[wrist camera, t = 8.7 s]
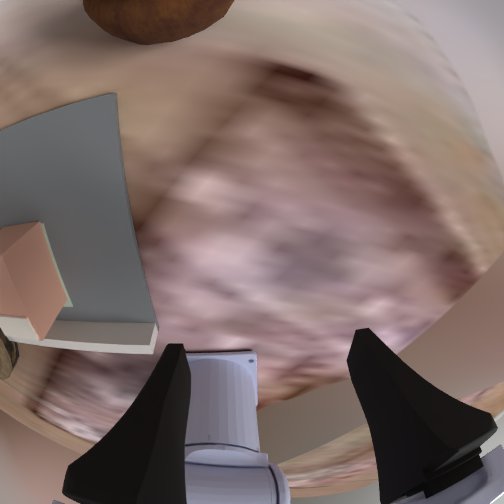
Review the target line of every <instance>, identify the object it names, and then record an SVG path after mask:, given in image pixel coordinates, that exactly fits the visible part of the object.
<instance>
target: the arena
mask: <svg viewBox="0 0 504 504" xmlns="http://www.w3.org/2000/svg"><path fill="white" fill-rule="evenodd" d="M37 221H40V222H41V226H42V229H43V233H44V236H45V239H46V242H47V245H48V248H49V251H50V254H51V257H52V260H53V263H54V266H55V268H56V271H57V274H58V276H59V279H60V282H61V284H62V287H63V289H64V292H65V294H66V296H67V301H66V303H65V304H64V306H63V307H62V309H61V311H60V312H59V314H58V316H57V317H56V319H55V321H54V322H53V324H52V326H51V328H50V329H49V331H48V333H47V335H46V336H45V338H44V340H43V341H39V340H30V339H23V338H16V337H10V336H7V338H8V339H9V341H14V342H20V343H26V344H33V345H40V346H47V347H55V348H64V349H73V350H84V351H96V352H110V353H130V354H153V352H154V347H155V343H156V339H157V334H158V330H159V325H158V322H157V319H156V315H155V312H154V308H153V305H152V301H151V298H150V294H149V290H148V286H147V282H146V278H145V274H144V270H143V266H142V262H141V258H140V253H139V249H138V244H137V240H136V235H135V230H134V225H133V220H132V215H131V209H130V204H129V198H128V192H127V186H126V179H125V172H124V165H123V158H122V150H121V141H120V132H119V121H118V109H117V94H116V93H111V94H107V95H103V96H99V97H95V98H91V99H87V100H83V101H80V102H76V103H73V104H70V105H66V106H63V107H60V108H57V109H54V110H51V111H48V112H45V113H42V114H40V115H37V116H34V117H31V118H29V119H26V120H24V121H21V122H19V123H16V124H14V125H12V126H9V127H7V128H5V129H3V130H0V230H1V229H2V228H3V227H7V226H13V225H18V224H24V223H30V222H37Z"/></svg>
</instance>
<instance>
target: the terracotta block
mask: <svg viewBox="0 0 504 504" xmlns="http://www.w3.org/2000/svg"><path fill="white" fill-rule="evenodd" d="M66 301H67V296H66V294H65V292H64V289H63V287H62V284H61V282H60V279H59V276H58V274H57V271H56V268H55V266H54V263H53V260H52V257H51V254H50V251H49V248H48V245H47V242H46V239H45V236H44V233H43V229H42V226H41V222H40V221H37V222H30V223H24V224H18V225H13V226H7V227H3V228H2V229H1V230H0V328H1V329H2V331H3V333H4V334H5V336H10V337H16V338H23V339H30V340H39V341H43V340H44V338H45V336H46V335H47V333H48V331H49V329H50V328H51V326H52V324H53V322H54V321H55V319H56V317H57V316H58V314H59V312H60V311H61V309H62V307H63V306H64V304H65V303H66Z"/></svg>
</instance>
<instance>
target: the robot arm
mask: <svg viewBox="0 0 504 504" xmlns="http://www.w3.org/2000/svg"><path fill="white" fill-rule="evenodd" d="M250 359H252V360H250ZM347 364H348V368H349V372H350V376H351V380H352V383H353V385H354V388H355V391H356V393H357V396H358V398H359V401H360V403H361V406H362V409H363V411H364V414H365V417H366V419H367V422H368V425H369V429H370V433H371V437H372V442H373V446H374V451H375V457H376V463H377V470H378V478H379V490H380V502H381V504H392V503H393V504H491V503H492V502H493V501H495V500H496V499H497V498H498V497H500V496H501V495H502V494H503V493H504V449H503V447H502V445H499V446H498V447H496V448H495V449H494V450H492V451H491V452H489V453H487V454H486V455H485V456H483V457H482V458H480V456H479V454H480V453H481V452H482V450H481V448H480V446H481V445H482V444H483V443H484V442H485V441H486V440H488V439H489V438H490V437H491V436H492V435H493V434H494V433H495V432H496V431H497V428H498V427H497V425H496V423H495V421H494V419H493V417H492V415H491V414H490V413H488V412H485V411H482V410H480V409H477V408H474V407H472V406H469V405H467V404H465V403H463V402H461V401H459V400H457V399H455V398H453V397H451V396H449V395H448V394H446V393H444V392H443V391H441V390H439V389H438V388H436V387H435V386H433V385H432V384H431V383H429V382H428V381H426V380H425V379H424V378H422V377H421V376H420V375H419V374H417V373H416V372H415V371H414V370H413V369H411V368H410V367H409V366H408V365H407V364H405V363H404V362H403V361H402V360H401V359H400V358H399V357H398V356H397V355H396V354H395V353H394V352H393V351H392V350H391V349H389V348H388V347H387V346H386V345H385V344H384V343H383V342H382V341H381V340H380V339H379V338H378V337H377V336H376V335H375V334H374V333H373V332H372V331H371V330H370V329H369V328H365V329H358V330H356V331H355V335H354V338H353V341H352V345H351V348H350V351H349V355H348V358H347ZM256 406H257V355H256V353H255V352H254V351H242V352H221V353H185V349H184V346H183V344H168V345H167V346H166V348H165V350H164V352H163V354H162V356H161V358H160V360H159V361H158V363H157V365H156V367H155V369H154V370H153V372H152V374H151V376H150V377H149V379H148V381H147V382H146V384H145V386H144V387H143V389H142V390H141V392H140V393H139V395H138V396H137V398H136V399H135V401H134V402H133V403H132V405H131V406H130V407H129V409H128V410H127V411H126V413H125V414H124V415H123V416H122V417H121V419H120V420H119V421H118V422H117V423H116V424H115V425H114V427H113V428H112V429H111V430H110V431H109V432H108V433H107V434H106V435H105V436H104V437H103V438H102V439H101V440H100V441H99V442H98V443H96V444H95V445H94V446H93V447H92V448H91V449H90V450H89V451H87V452H86V453H85V454H84V455H82V456H81V457H80V458H78V459H77V460H75V461H74V462H73V463H71V464H70V465H69V466H68V469H67V471H66V475H65V480H64V484H63V490H62V493H63V494H64V495H65V496H66V497H68V498H70V499H72V500H74V501H76V502H78V503H80V504H290V490H289V485H288V481H287V479H286V476H285V475H284V473H283V472H282V471H281V470H280V469H279V467H278V466H277V465H275V464H272V463H268V455H267V453H260V446H259V438H258V437H259V436H258V427H257V416H256ZM405 498H406V499H405ZM400 500H401V501H400ZM52 504H64V503H61V502H59V501H56V500H53V503H52Z"/></svg>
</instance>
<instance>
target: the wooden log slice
mask: <svg viewBox="0 0 504 504" xmlns="http://www.w3.org/2000/svg"><path fill="white" fill-rule="evenodd" d="M18 358H19V351H18V345H17V342H14V341H9V339H8V338H7V336H5V334H4V333H3V331H2V329H1V328H0V379H2V380H3V379H6V378H9V376H10V374H11V372H12V370H13V368H14V366H15V365H16V363H17V360H18Z"/></svg>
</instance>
